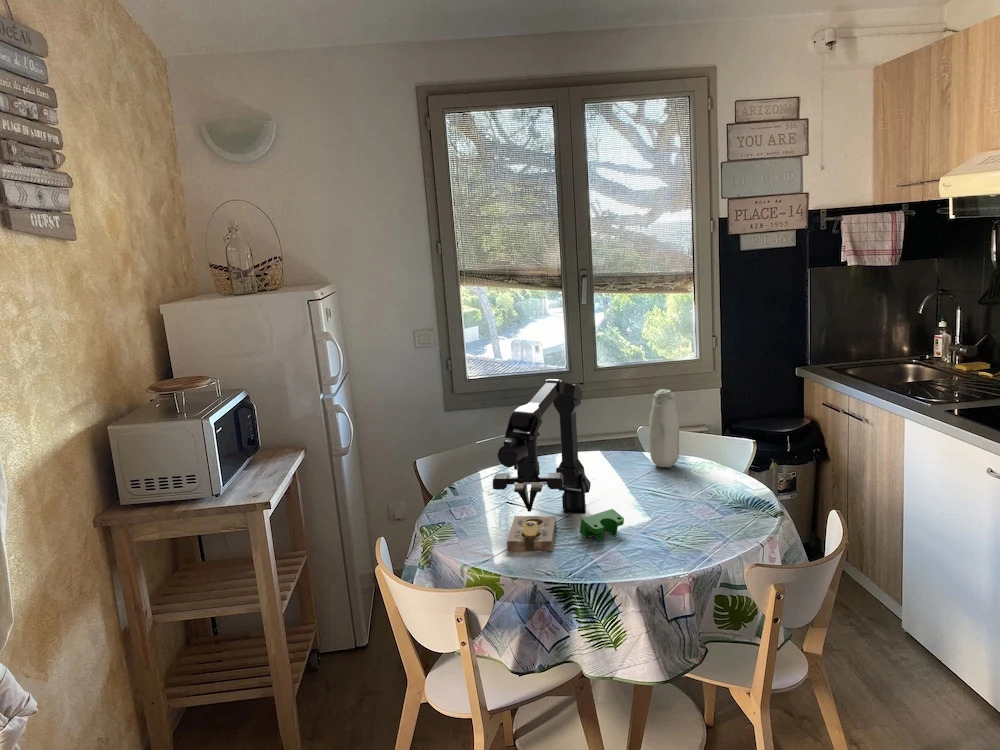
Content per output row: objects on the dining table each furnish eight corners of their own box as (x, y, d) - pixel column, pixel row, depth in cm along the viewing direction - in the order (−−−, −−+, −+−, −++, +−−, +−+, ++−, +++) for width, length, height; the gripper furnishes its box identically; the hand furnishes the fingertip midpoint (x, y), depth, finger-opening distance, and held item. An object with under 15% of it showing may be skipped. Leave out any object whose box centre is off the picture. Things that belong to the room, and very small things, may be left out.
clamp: (596, 555, 204) (589, 533, 198) (583, 543, 208) (576, 522, 203) (629, 530, 207) (623, 508, 202) (615, 519, 212) (609, 498, 207)
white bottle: (648, 462, 266) (647, 386, 260) (677, 462, 264) (676, 385, 259) (651, 471, 256) (650, 393, 250) (681, 470, 255) (680, 392, 249)
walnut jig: (556, 525, 214) (555, 516, 214) (552, 551, 197) (551, 541, 196) (515, 525, 216) (514, 515, 215) (507, 551, 199) (507, 541, 198)
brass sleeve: (539, 541, 204) (538, 520, 203) (537, 547, 200) (536, 526, 199) (524, 541, 205) (523, 520, 203) (523, 547, 201) (522, 526, 200)
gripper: (563, 446, 204) (565, 500, 207) (496, 447, 207) (499, 500, 210) (561, 459, 193) (563, 515, 196) (490, 460, 196) (494, 515, 199)
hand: (529, 511), depth 201 cm, fingers closed
